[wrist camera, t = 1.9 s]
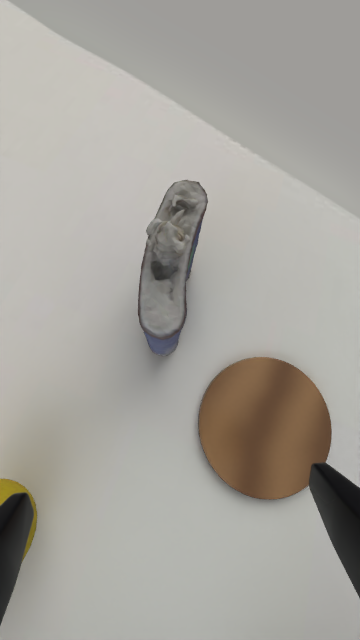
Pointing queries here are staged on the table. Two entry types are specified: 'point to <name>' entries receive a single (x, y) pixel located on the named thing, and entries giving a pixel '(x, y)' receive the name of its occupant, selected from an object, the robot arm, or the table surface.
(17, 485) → the lemon
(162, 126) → the table surface
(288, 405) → the wooden coaster
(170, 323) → the flask
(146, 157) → the table surface
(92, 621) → the table surface
